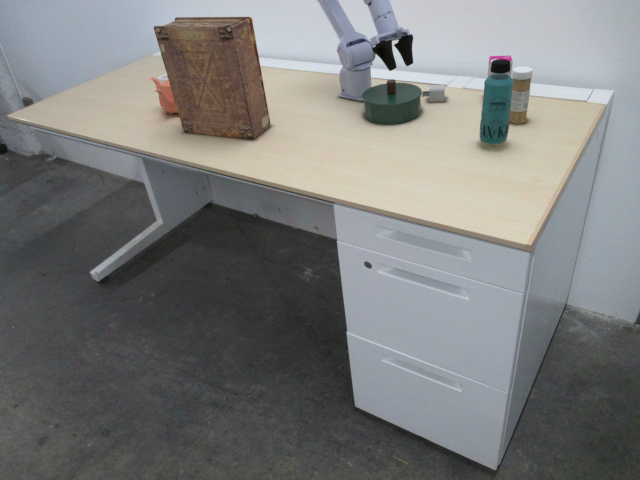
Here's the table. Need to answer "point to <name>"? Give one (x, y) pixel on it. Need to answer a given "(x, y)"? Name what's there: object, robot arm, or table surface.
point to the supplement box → (496, 59)
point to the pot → (392, 112)
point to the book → (215, 75)
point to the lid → (391, 94)
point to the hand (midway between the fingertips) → (401, 67)
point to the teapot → (165, 96)
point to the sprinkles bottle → (520, 94)
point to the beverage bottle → (496, 104)
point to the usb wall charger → (435, 93)
